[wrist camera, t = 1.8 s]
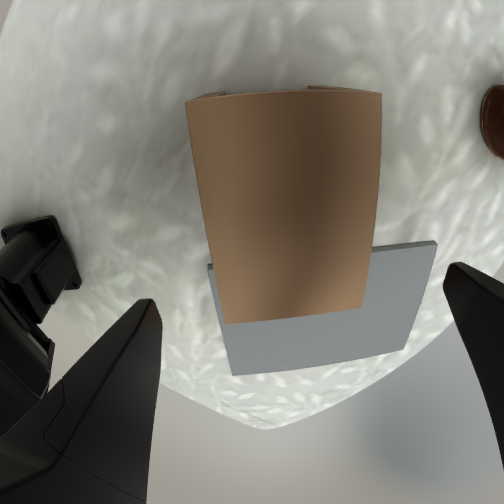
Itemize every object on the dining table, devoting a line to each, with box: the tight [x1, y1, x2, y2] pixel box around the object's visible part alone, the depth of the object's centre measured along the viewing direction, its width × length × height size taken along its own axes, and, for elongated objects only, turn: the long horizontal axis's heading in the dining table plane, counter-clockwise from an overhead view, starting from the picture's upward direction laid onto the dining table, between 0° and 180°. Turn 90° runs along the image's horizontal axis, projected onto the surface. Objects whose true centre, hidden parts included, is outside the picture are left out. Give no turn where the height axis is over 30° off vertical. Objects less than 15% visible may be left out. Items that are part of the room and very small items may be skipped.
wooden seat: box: [185, 86, 382, 324], centre depth 15 cm, size 7×10×7 cm
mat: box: [208, 241, 438, 376], centre depth 24 cm, size 18×13×1 cm
